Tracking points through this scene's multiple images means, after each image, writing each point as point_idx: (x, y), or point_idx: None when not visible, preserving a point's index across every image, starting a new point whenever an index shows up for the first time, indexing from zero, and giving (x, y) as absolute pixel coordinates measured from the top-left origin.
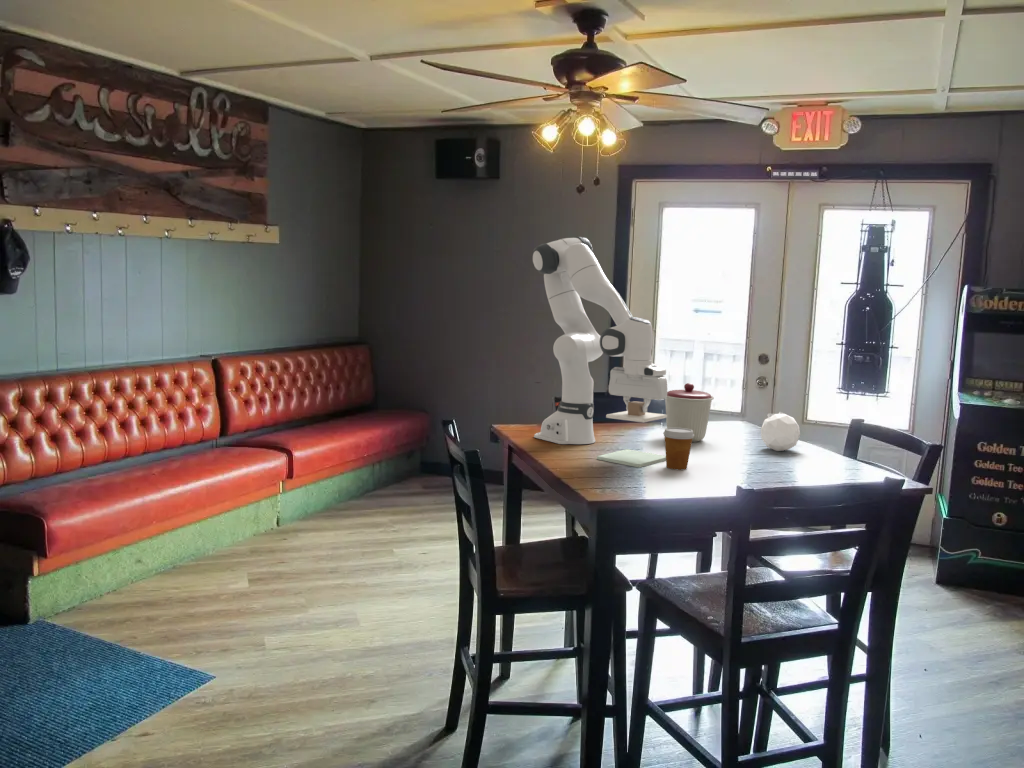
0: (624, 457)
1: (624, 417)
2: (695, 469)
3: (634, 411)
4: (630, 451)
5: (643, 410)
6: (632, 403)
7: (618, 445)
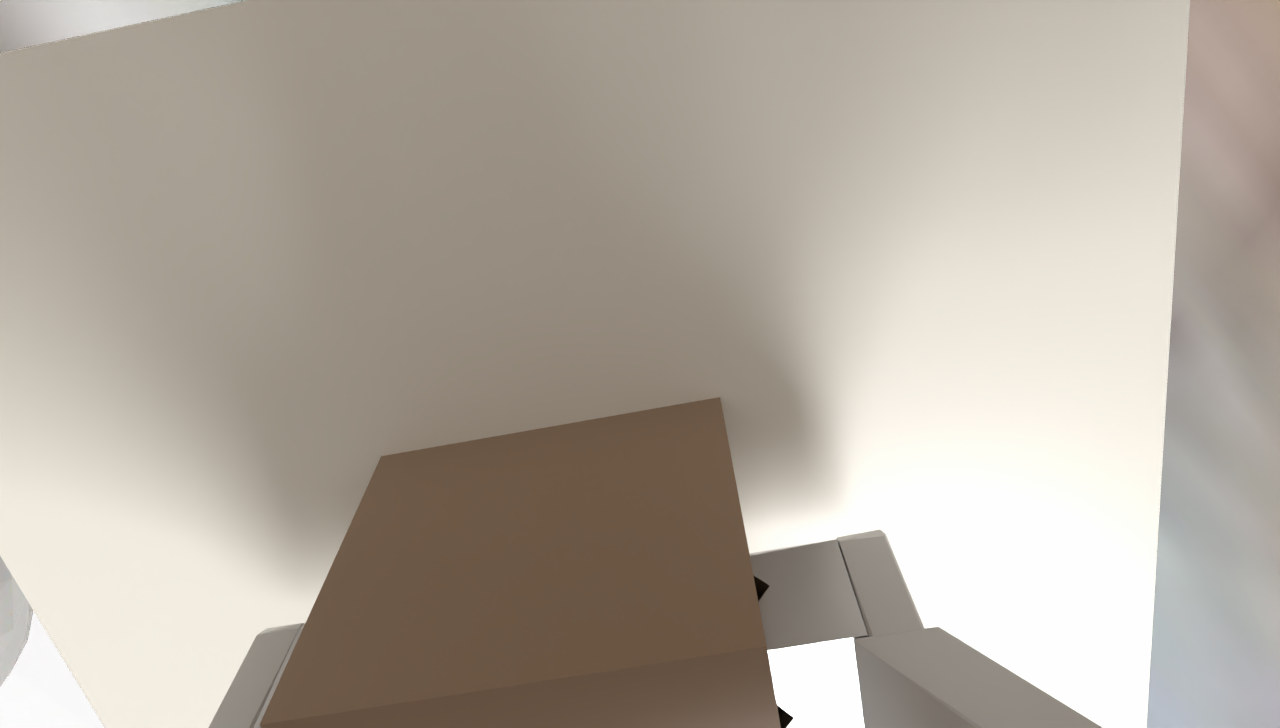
0: None
1: None
2: None
3: (498, 496)
4: None
5: (277, 649)
6: (556, 655)
7: (1230, 602)
